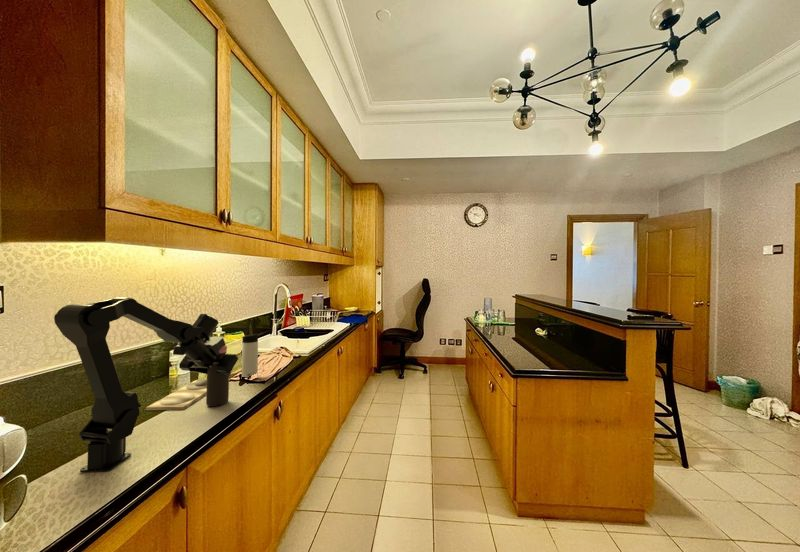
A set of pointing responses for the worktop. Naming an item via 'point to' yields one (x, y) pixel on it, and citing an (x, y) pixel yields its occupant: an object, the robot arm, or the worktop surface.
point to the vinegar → (217, 384)
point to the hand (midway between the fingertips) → (221, 374)
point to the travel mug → (249, 355)
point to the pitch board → (182, 397)
